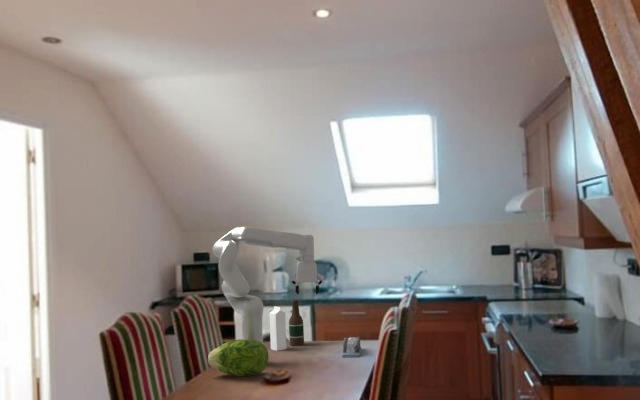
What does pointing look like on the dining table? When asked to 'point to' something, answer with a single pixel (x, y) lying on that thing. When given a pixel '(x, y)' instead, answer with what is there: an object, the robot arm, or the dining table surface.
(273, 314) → the milk
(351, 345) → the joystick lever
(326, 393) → the dining table surface
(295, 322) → the beer bottle
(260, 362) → the lettuce
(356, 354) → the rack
